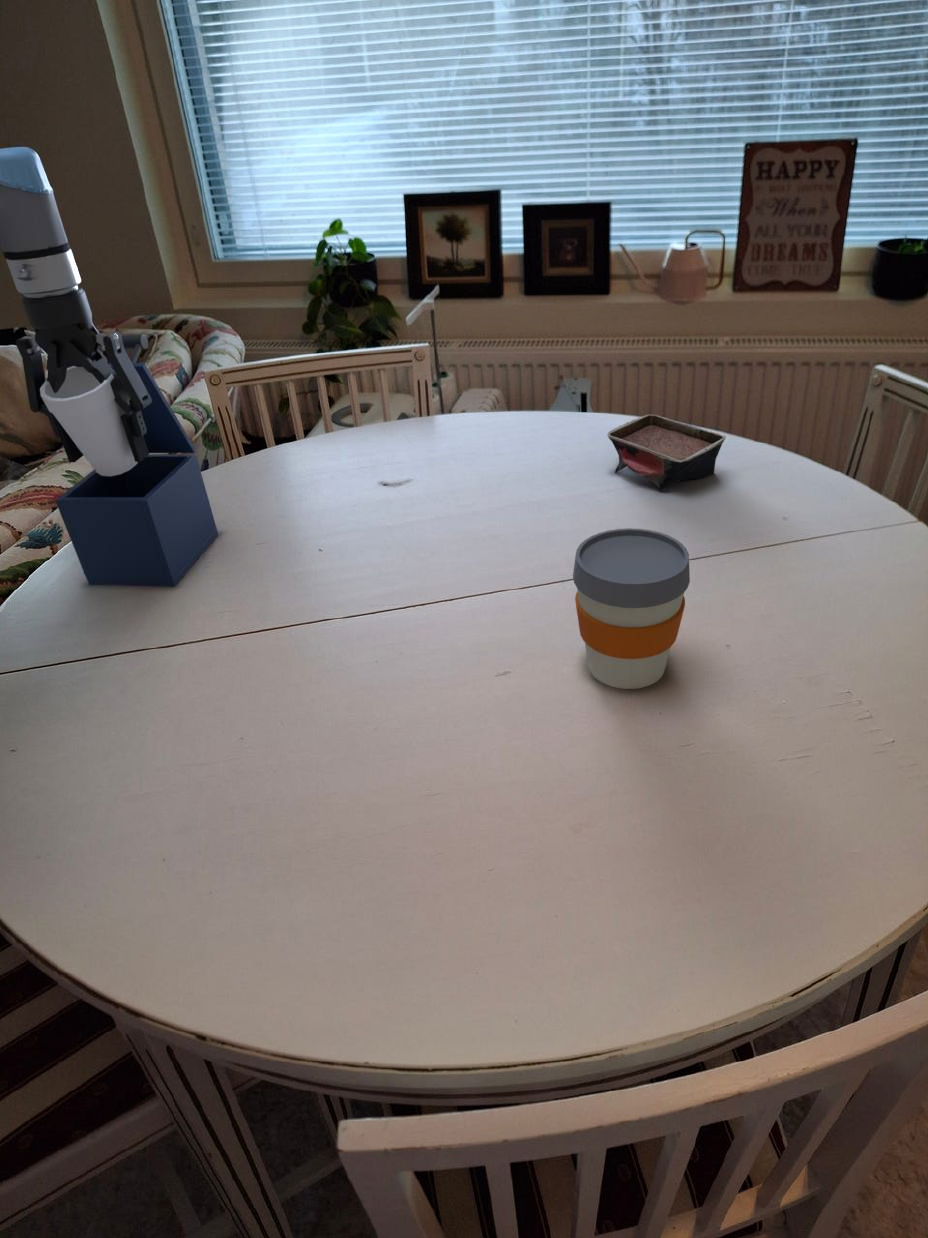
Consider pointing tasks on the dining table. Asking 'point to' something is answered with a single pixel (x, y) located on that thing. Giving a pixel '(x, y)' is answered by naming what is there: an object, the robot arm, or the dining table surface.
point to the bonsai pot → (665, 449)
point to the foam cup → (91, 420)
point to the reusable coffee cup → (630, 603)
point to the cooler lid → (156, 407)
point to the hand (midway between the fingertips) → (109, 458)
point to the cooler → (140, 522)
